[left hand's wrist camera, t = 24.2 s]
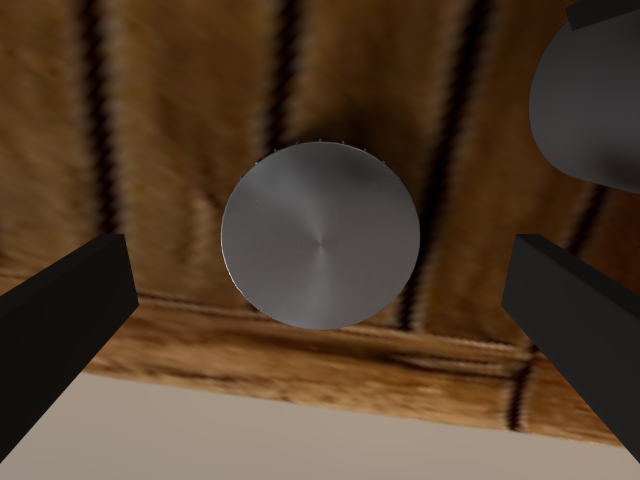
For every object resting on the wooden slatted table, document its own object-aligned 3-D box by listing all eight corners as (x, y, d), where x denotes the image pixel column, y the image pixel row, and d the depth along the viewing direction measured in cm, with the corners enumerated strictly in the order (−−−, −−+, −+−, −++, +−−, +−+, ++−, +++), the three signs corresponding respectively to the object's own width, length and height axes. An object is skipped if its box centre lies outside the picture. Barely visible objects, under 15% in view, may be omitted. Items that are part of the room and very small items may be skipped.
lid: (220, 137, 18) (208, 140, 16) (419, 136, 18) (431, 139, 16) (236, 311, 21) (228, 331, 19) (404, 311, 21) (413, 330, 19)
